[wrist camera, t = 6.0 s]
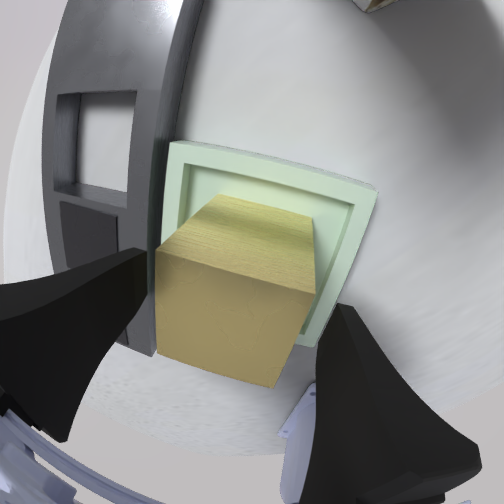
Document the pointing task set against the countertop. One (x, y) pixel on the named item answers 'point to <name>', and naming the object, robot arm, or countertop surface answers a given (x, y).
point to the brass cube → (235, 289)
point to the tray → (279, 196)
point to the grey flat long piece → (142, 137)
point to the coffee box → (372, 4)
